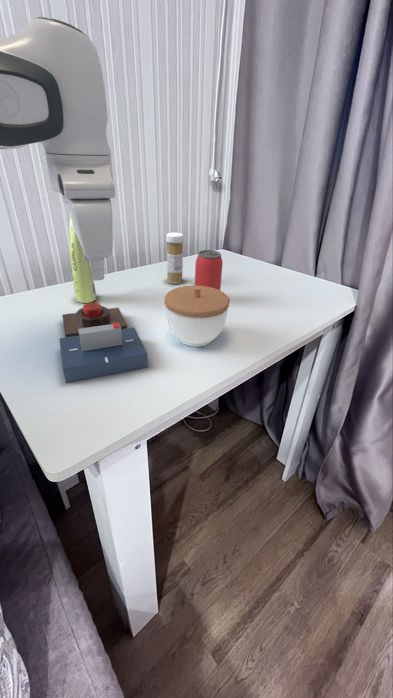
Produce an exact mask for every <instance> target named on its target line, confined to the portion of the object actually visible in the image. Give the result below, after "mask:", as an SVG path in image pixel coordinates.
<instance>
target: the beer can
mask: <svg viewBox="0 0 393 698" xmlns="http://www.w3.org/2000/svg"><path fill="white" fill-rule="evenodd" d="M223 264H224V263H223V258H222V253H221V252H219V251H216V250H211V249H205V250H200V251H198V253H197V257H196V260H195V269H194V286H206V287H211V288H215V289H218V290H220V291H221V287H222V273H223Z"/></svg>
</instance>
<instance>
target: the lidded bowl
mask: <svg viewBox="0 0 393 698" xmlns="http://www.w3.org/2000/svg"><path fill="white" fill-rule="evenodd" d="M164 295H165V296H164V305H165V306H164V307H165V308H164V309H165V310H164V311H165V318H166V324H167V326H168V328H169V331H170V332H171V333H172V335H173V336H174V337H175V338H176V339H178V341H179V342H180V343H181V344H183V345H184V346H187V347H195V348H197V347H198V348H199V347H200V348H201V347H205V346H207V345H209V344H211V342H212V341H214V340H215V339H216V338H217V337H219V335H221V333H222V332H223V329H224V327H225V325H226V321H227V318H228V312H229V307H230V298H229V296H228V295H227V294H226V293H225V292H223V291H222V290H221V289H220V290H218V289H215V288H211V287H206V286H195V285H183V286H178V287H175V288H172V289H171V290H169V291H167V292H166V293H165V294H164Z"/></svg>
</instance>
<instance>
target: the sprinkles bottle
mask: <svg viewBox="0 0 393 698" xmlns="http://www.w3.org/2000/svg"><path fill="white" fill-rule="evenodd" d="M165 239H166V271H167V273H166V274H167V275H166V276H167V277H166V278H167V279H166V282H167V283H168V284H171V285H179V284H182V283H183V282H184V281H183V280H184V279H183V271H184V270H183V269H184V267H183V265H184V263H183V261H184V255H183V254H184V253H183V252H184V251H183V248H184V233H181V232H175V231H172V232H168V233H166V235H165Z"/></svg>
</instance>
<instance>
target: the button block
mask: <svg viewBox="0 0 393 698" xmlns="http://www.w3.org/2000/svg"><path fill="white" fill-rule="evenodd" d="M101 309H102V314H101V315H99V316H96V317H86V316H84V312H83V307H81V308H79V309H78V310H77V311H76V312H71V313H66V314H61V315H62V323H63V330H64V338H66V337H72V336H79V330H78V329H82V328H89V327H96V326H103V325H110V324H112V323H117V322H118V323H119V325H120V327H121V329H126V328H128V325H127V322H126V321H125V319H124V316H123V313H122V312H121V310H120V307H112V308H108V307H106V306H104V305H101Z"/></svg>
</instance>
